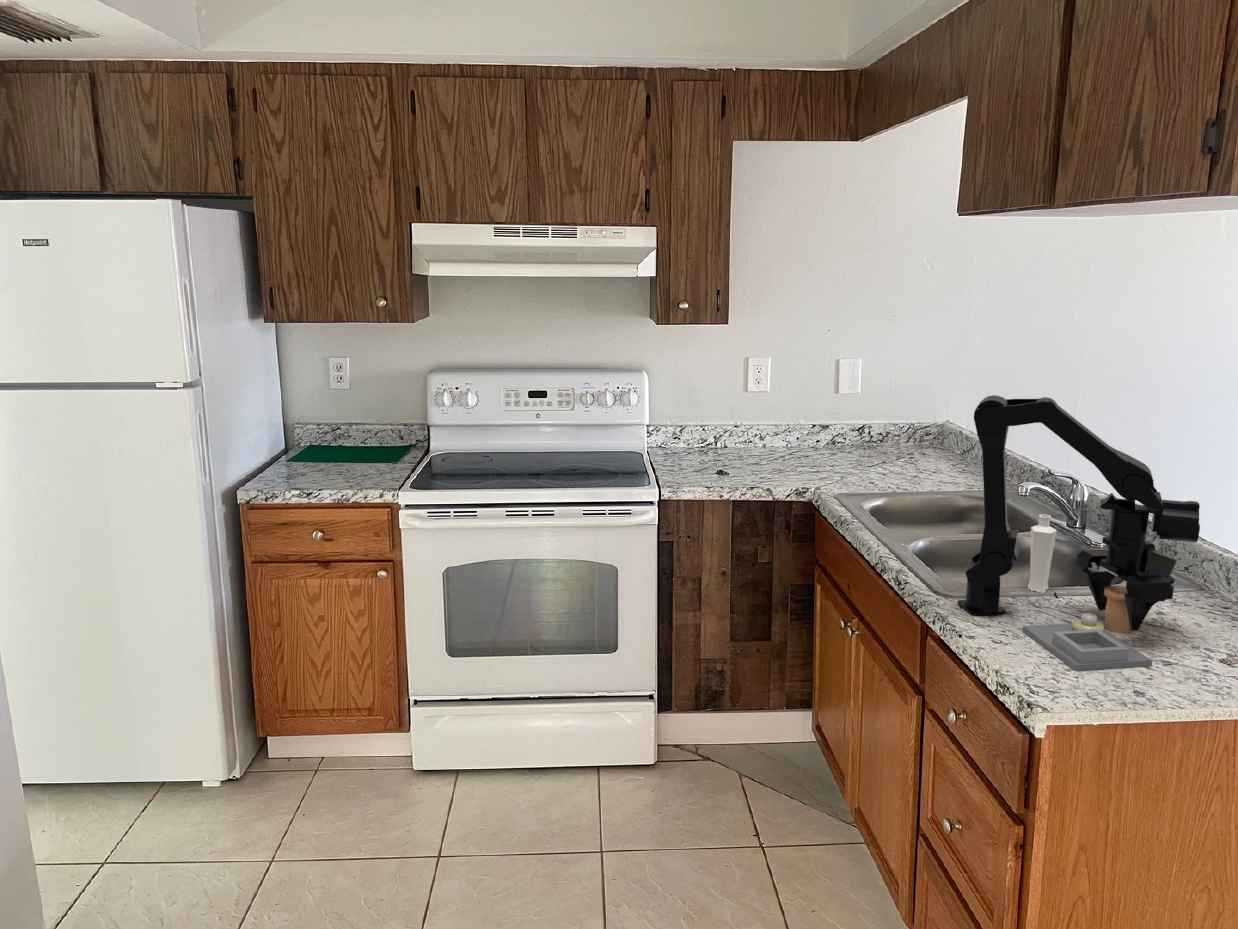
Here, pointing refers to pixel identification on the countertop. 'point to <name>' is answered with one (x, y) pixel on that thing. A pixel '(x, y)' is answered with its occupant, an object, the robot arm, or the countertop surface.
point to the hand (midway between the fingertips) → (1117, 620)
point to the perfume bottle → (1041, 553)
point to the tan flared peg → (1116, 609)
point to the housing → (1086, 645)
